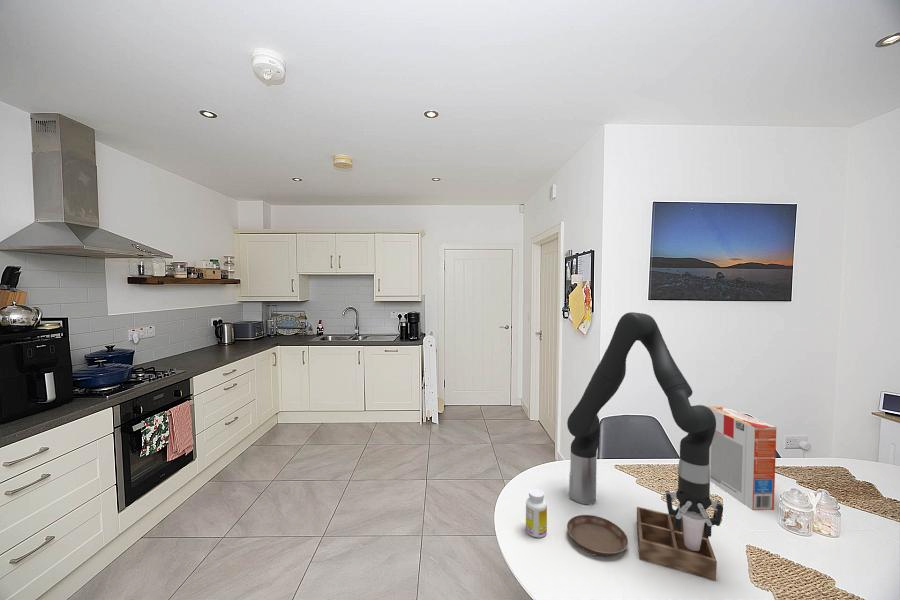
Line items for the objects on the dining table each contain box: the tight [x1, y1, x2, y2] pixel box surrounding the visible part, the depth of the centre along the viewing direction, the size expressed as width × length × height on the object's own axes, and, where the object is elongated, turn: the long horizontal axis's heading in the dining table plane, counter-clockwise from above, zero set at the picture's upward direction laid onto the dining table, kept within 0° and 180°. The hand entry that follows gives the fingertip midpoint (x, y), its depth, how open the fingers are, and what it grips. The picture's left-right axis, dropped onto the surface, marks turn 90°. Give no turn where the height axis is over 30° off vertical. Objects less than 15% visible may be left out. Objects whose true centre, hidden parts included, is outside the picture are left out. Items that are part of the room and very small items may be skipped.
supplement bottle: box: [525, 488, 548, 538], centre depth 117 cm, size 7×7×13 cm
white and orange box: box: [707, 405, 777, 511], centre depth 141 cm, size 23×8×30 cm, turn 3°
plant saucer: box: [566, 514, 629, 558], centre depth 113 cm, size 18×18×3 cm
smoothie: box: [681, 511, 706, 551], centre depth 104 cm, size 6×6×14 cm
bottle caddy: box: [636, 506, 718, 582], centre depth 110 cm, size 18×18×6 cm
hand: (692, 533), depth 104 cm, fingers closed on smoothie, 6 cm apart
